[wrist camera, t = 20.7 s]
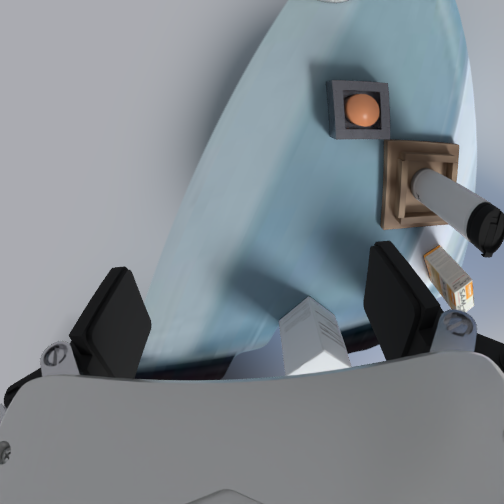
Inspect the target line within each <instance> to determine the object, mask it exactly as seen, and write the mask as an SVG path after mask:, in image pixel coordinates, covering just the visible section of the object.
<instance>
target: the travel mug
mask: <svg viewBox="0 0 504 504" xmlns="http://www.w3.org/2000/svg"><path fill="white" fill-rule="evenodd" d="M411 192H412V195H413V196H414V198H416V199H417V200H418V201H419V202H421V203H422V204H424V205H425V206H426V207H427V208H429V209H430V210H431V211H433V212H434V213H435V214H437V215H438V216H439V217H440V218H442V219H443V220H444V221H445V222H447V223H448V224H449V225H450V226H452V227H453V228H454V229H455V230H456V231H458V232H459V233H460V234H461V235H462V236H464V237H465V238H466V239H467V240H468V241H469V242H471V243H472V244H474V246H476V247H477V248H478V249H479V250H480V251H481V252H482V253H483V254H481V255H482V256H483V257H492V254H493V253H494V252H495V251H496V250H497V249H498V248H499V247H500V245H501V244H502V242H503V240H504V214H503V212H501V211H500V209H498V208H497V207H495V206H494V205H492V204H491V203H490V202H488V201H487V200H485V199H483V198H482V197H480V196H479V195H477V194H475V193H474V192H472V191H470V190H469V189H467V188H465V187H463V186H462V185H460V184H458V183H456V182H454V181H453V180H451V179H449V178H447V177H445V176H443V175H441V174H439V173H437V172H436V171H434V170H432V169H429V168H422V169H420V170H418V171H417V172H416V173H415V174H414V176H413V178H412V180H411Z"/></svg>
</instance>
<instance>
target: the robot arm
mask: <svg viewBox="0 0 504 504" xmlns="http://www.w3.org/2000/svg"><path fill="white" fill-rule="evenodd" d="M319 1H323V2H329V3H341V2H346V1H348V0H319ZM364 310H365V312H366V314H367V317H368V319H369V321H370V323H371V326H372V328H373V330H374V332H375V335H376V337H377V339H378V342H379V344H380V347H381V349H382V351H383V354H384V356H385V359H386V361H383V362H378V363H372V364H367V365H361V366H355V367H349V368H343V369H337V370H330V371H323V372H316V373H308V374H299V375H290V376H281V377H269V378H255V379H239V380H238V379H237V380H207V381H174V380H144V379H134V377H135V374H136V371H137V368H138V365H139V362H140V359H141V356H142V353H143V350H144V347H145V344H146V341H147V339H148V336H149V333H150V330H151V320H150V317H149V315H148V312H147V310H146V308H145V305H144V303H143V300H142V298H141V295H140V292H139V290H138V287H137V285H136V282H135V280H134V276H133V274H132V272H131V271H130V270H128V269H127V268H126V267H115V268H112V269H111V270H110V272H109V273H108V274H107V276H106V277H105V279H104V280H103V282H102V283H101V285H100V286H99V288H98V289H97V291H96V292H95V294H94V295H93V297H92V298H91V300H90V301H89V303H88V305H87V306H86V308H85V310H84V311H83V313H82V314H81V316H80V317H79V319H78V321H77V322H76V324H75V326H74V327H73V329H72V331H71V332H70V334H69V337H70V339H71V340H72V341H71V343H70V344H69V343H68V342H66V341H58V342H55V343H53V344H51V345H50V346H48V347H47V348H46V349H45V350H44V352H43V354H42V355H41V358H40V365H41V368H40V369H38V370H36V371H35V372H33V373H31V374H30V375H28V376H26V377H25V378H23V379H21V380H19V381H18V382H16V383H14V384H13V385H11V386H10V387H9V388H8V389H7V391H6V394H5V397H4V406H3V405H2V404H0V504H504V344H503V343H500V342H498V341H495V340H493V339H490V338H488V337H485V336H483V335H480V334H478V333H477V325H476V322H475V320H474V319H473V318H472V317H471V316H470V315H469V314H467V313H466V312H463V311H461V310H456V309H452V310H447V311H445V312H444V311H443V310H442V309H441V307H440V304H439V303H438V301H437V300H436V299H435V297H434V296H433V294H432V293H431V292H430V290H429V289H428V288H427V286H426V285H425V284H424V282H423V281H422V280H421V278H420V277H419V276H418V275H417V273H416V272H415V271H414V269H413V268H412V267H411V266H410V264H409V263H408V262H407V261H406V259H405V258H404V257H403V256H402V255H401V253H400V252H399V251H398V250H397V248H396V247H395V246H394V245H393V244H392V242H391V241H381V242H376V243H375V244H374V246H371V248H370V255H369V264H368V273H367V281H366V288H365V295H364Z"/></svg>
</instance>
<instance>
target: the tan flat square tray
mask: <svg viewBox="0 0 504 504" xmlns="http://www.w3.org/2000/svg"><path fill="white" fill-rule="evenodd" d="M458 157H459V145H457V144H454V143H443V142H431V141H416V140H392V139H384V172H383V196H382V212H381V225H380V226H381V228H382V229H383V230H387V229H398V228H410V227H422V226H434V225H446V224H448V223H447V222H445V221H444V220H443V219H442V218H440V217H439V216H438V215H437V214H435V213H434V212H433V211H431V210H430V209H429V208H427V207H426V206H425V205H424V204H422V203H421V202H419V201H418V200H417V199H416V198H414V196H413V195H412V192H411V180H412V178H413V176H414V174H415V173H416V172H417V171H418V170H420V169H422V168H429V169H432V170H434V171H436V172H437V173H439V174H441V175H443V176H445V177H447V178H449V179H451V180H453V181H454V182H456V181H457V170H458Z"/></svg>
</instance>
